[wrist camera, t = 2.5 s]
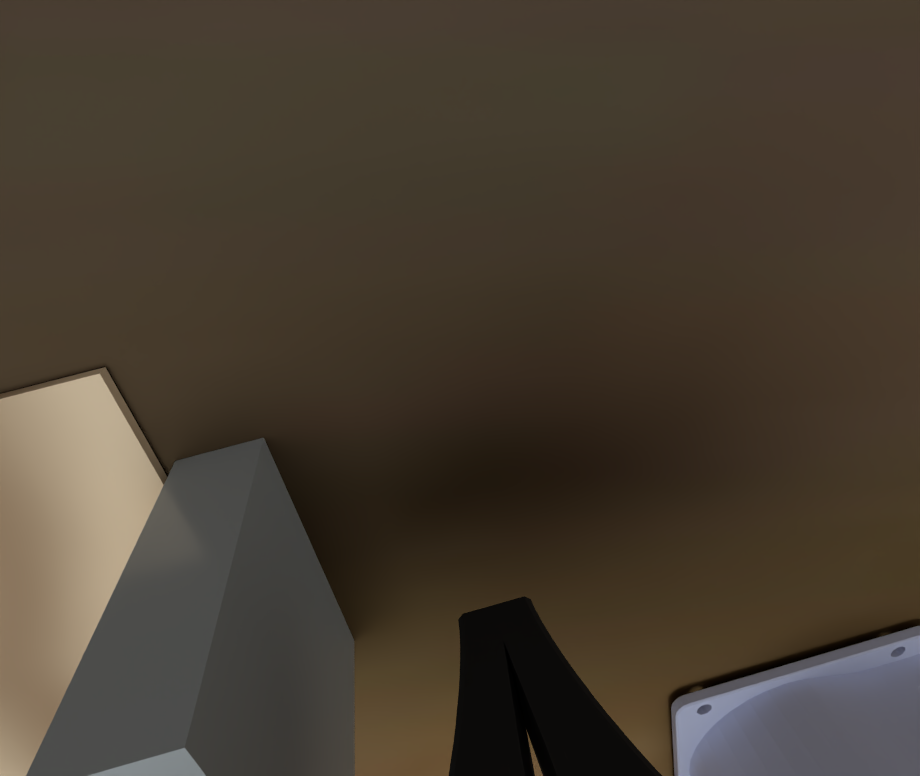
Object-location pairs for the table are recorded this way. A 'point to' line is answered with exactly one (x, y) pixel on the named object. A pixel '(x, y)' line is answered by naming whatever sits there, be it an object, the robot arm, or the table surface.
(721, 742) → the robot arm
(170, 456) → the table surface
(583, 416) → the table surface
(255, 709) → the square picture frame
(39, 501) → the cork mat
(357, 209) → the table surface
